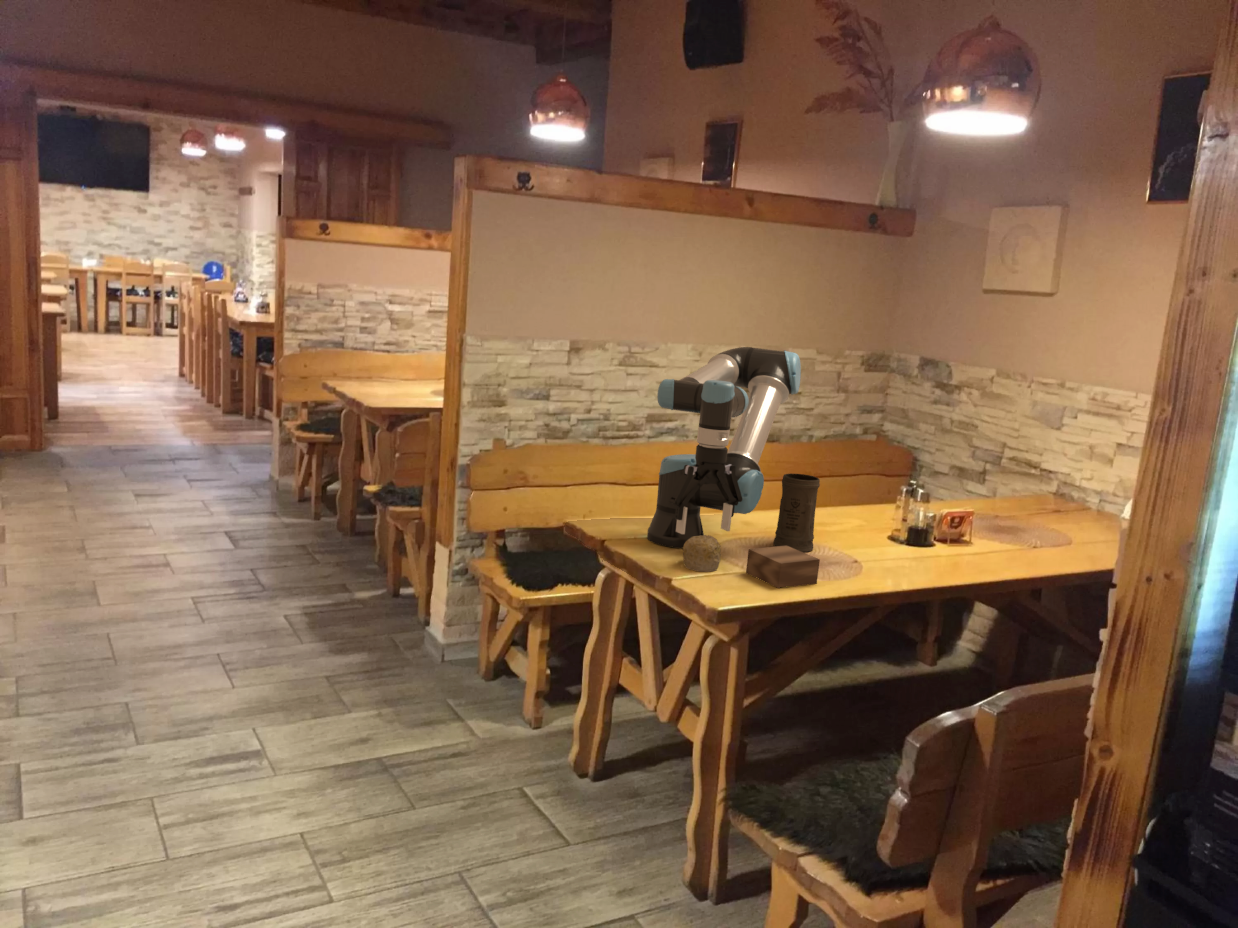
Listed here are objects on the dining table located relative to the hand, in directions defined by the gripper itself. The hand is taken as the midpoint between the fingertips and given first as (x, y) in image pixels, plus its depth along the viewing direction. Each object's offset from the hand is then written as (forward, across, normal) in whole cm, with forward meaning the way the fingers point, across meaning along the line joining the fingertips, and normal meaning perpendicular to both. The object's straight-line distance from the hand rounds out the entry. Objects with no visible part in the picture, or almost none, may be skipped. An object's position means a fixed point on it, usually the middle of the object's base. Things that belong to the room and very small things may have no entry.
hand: (703, 531), depth 237 cm
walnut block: (+9, +14, -14) cm, 22 cm away
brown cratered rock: (+9, 0, 0) cm, 9 cm away
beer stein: (+9, +38, +9) cm, 40 cm away
